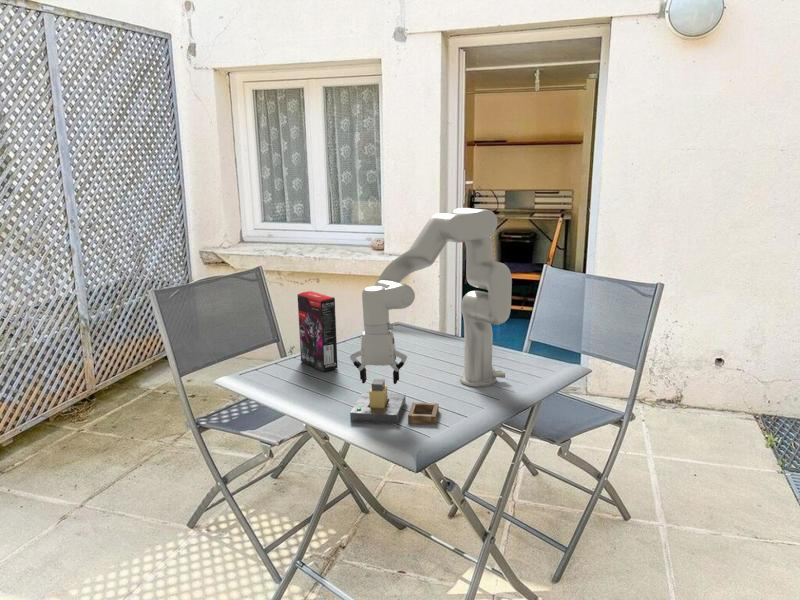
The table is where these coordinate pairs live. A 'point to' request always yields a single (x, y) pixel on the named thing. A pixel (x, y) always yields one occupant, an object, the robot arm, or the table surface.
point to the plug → (378, 394)
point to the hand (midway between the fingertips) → (379, 382)
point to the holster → (423, 418)
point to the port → (378, 410)
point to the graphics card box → (317, 330)
